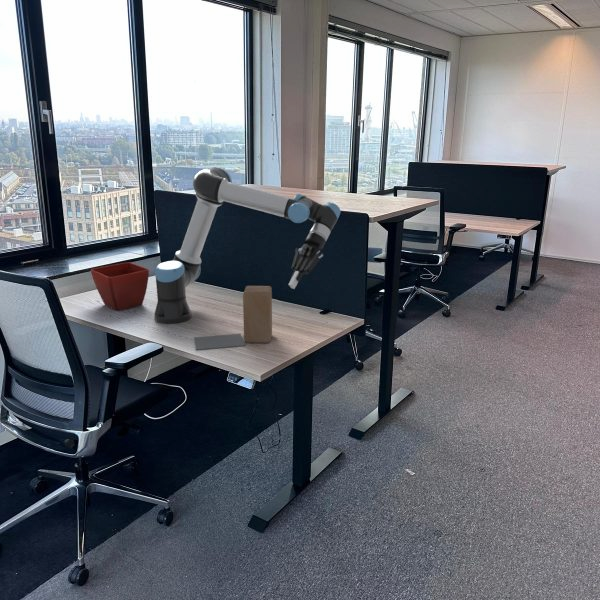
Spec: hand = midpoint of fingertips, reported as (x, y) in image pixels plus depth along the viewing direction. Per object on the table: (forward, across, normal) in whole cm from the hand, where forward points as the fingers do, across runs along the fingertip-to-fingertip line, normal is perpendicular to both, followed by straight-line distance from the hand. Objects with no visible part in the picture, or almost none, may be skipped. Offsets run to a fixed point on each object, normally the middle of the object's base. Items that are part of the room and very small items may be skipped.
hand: (291, 286), depth 205 cm
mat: (+31, +15, +4) cm, 35 cm away
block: (+23, +6, -4) cm, 24 cm away
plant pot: (+28, +82, +1) cm, 86 cm away
